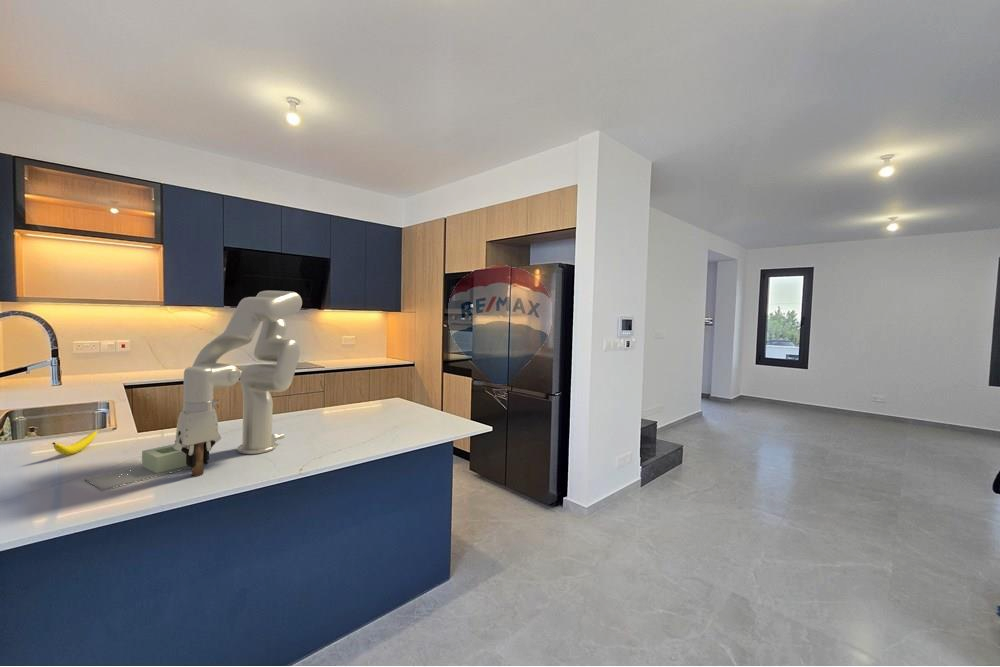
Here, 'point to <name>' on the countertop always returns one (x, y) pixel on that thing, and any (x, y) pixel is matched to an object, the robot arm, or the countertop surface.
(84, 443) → the banana
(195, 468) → the dowel
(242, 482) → the countertop surface
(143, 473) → the grey l-shaped plate
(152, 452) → the socket block
